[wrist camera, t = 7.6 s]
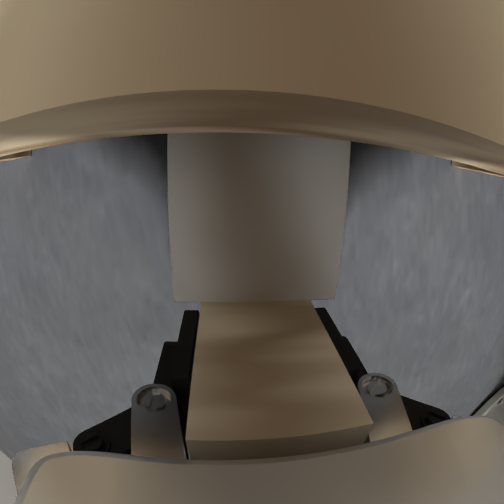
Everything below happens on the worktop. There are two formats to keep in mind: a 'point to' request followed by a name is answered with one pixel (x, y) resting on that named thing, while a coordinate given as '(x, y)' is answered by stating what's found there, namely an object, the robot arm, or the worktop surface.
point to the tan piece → (262, 292)
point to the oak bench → (257, 72)
